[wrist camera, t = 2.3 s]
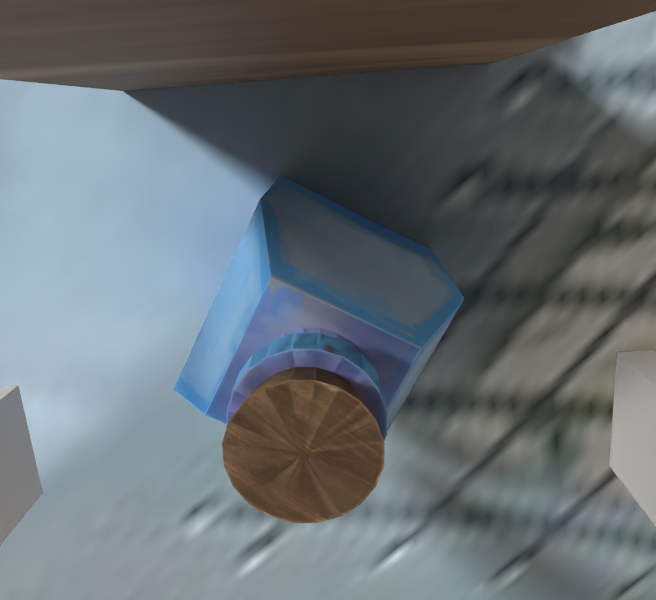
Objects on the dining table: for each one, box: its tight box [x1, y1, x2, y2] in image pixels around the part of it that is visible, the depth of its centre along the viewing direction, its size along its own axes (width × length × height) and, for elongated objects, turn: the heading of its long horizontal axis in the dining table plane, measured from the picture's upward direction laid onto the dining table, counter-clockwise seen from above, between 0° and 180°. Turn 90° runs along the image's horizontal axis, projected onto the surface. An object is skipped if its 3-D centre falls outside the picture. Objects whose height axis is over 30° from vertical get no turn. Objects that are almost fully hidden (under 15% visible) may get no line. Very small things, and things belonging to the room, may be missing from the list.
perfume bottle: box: [173, 175, 465, 523], centre depth 18 cm, size 6×6×12 cm
